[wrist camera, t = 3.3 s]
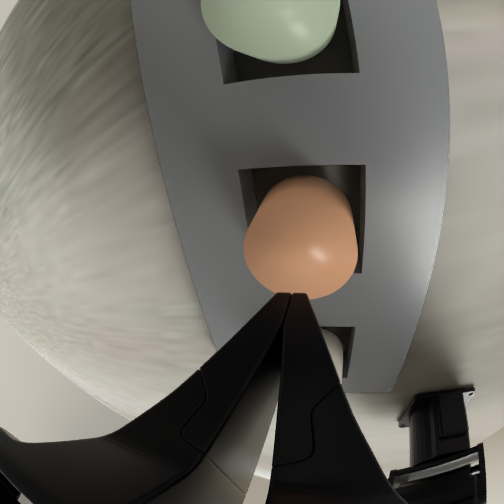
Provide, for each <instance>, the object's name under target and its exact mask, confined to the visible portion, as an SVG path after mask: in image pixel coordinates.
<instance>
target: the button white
mask: <svg viewBox="0 0 504 504" xmlns="http://www.w3.org/2000/svg"><path fill="white" fill-rule="evenodd" d="M321 331H322V333H323V336H324V338H325V341H326V344H327V346H328V349H329V352H330V354H331V357H332V360H333V362H334V365H335V368H336V371H337V373H338V376H339V379H340V384H342V368H343V344H342V342H341V340H340V339H339V338H338V337H337V336H336V335H335V334H333V333H332V332H330V331H328V330H325V329H321Z"/></svg>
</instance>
